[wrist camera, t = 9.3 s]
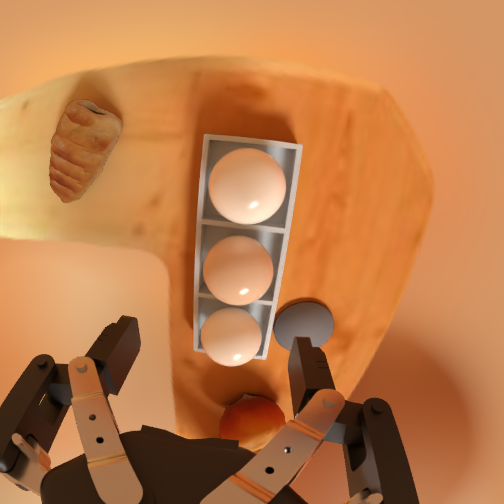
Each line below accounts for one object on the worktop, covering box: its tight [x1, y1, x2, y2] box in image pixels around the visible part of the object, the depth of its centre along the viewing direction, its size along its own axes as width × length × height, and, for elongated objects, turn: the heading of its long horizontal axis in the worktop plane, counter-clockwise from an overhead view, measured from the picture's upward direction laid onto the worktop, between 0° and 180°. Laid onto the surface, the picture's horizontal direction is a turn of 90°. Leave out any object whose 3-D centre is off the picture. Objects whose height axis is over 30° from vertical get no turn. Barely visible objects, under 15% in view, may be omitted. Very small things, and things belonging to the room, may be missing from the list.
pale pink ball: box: [203, 235, 273, 305], centre depth 20 cm, size 5×5×5 cm
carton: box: [194, 134, 303, 360], centre depth 22 cm, size 19×7×2 cm, turn 173°
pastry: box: [49, 99, 123, 203], centre depth 19 cm, size 9×7×4 cm
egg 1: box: [209, 148, 286, 225], centre depth 18 cm, size 5×5×5 cm
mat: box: [274, 302, 334, 351], centre depth 26 cm, size 6×6×1 cm
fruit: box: [220, 393, 286, 452], centre depth 29 cm, size 8×8×8 cm
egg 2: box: [201, 307, 262, 366], centre depth 23 cm, size 5×5×5 cm
